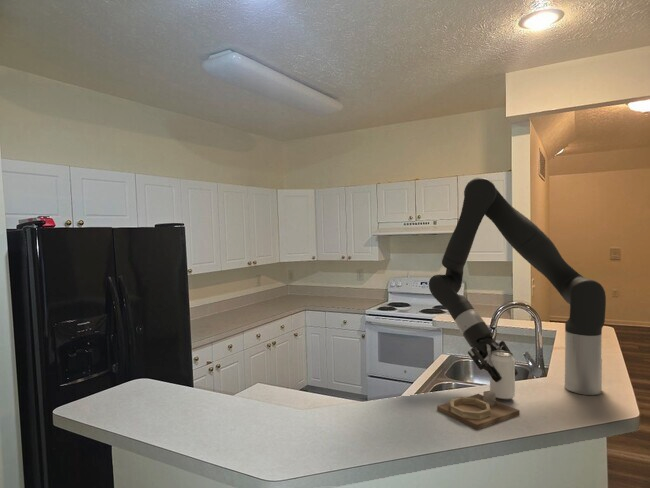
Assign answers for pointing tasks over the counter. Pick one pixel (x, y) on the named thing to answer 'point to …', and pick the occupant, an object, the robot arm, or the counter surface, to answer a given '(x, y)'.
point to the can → (503, 374)
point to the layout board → (478, 410)
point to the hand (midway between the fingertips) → (507, 378)
